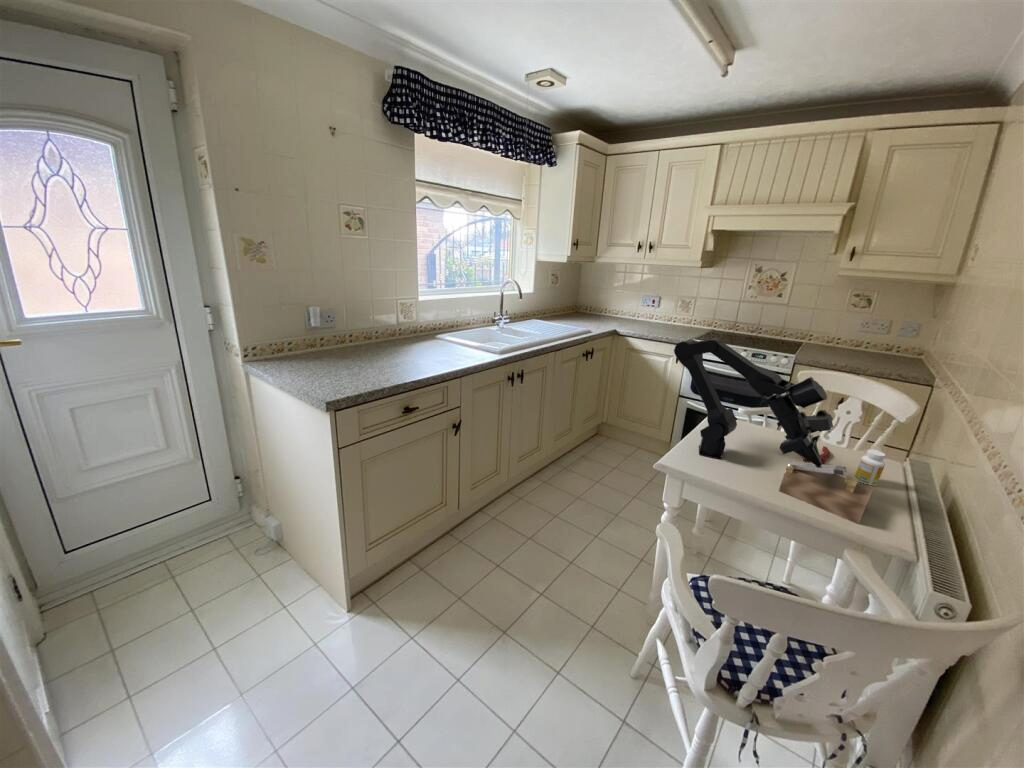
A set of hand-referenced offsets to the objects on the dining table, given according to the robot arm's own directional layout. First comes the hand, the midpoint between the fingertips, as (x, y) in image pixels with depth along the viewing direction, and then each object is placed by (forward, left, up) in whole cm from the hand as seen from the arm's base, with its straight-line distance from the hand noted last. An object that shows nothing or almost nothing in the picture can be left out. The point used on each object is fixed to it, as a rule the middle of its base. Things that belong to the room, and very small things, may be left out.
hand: (819, 465), depth 113 cm
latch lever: (-1, 0, -2) cm, 2 cm away
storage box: (+3, -1, -9) cm, 9 cm away
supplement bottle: (+17, +16, -9) cm, 25 cm away
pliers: (+4, +25, -10) cm, 27 cm away
